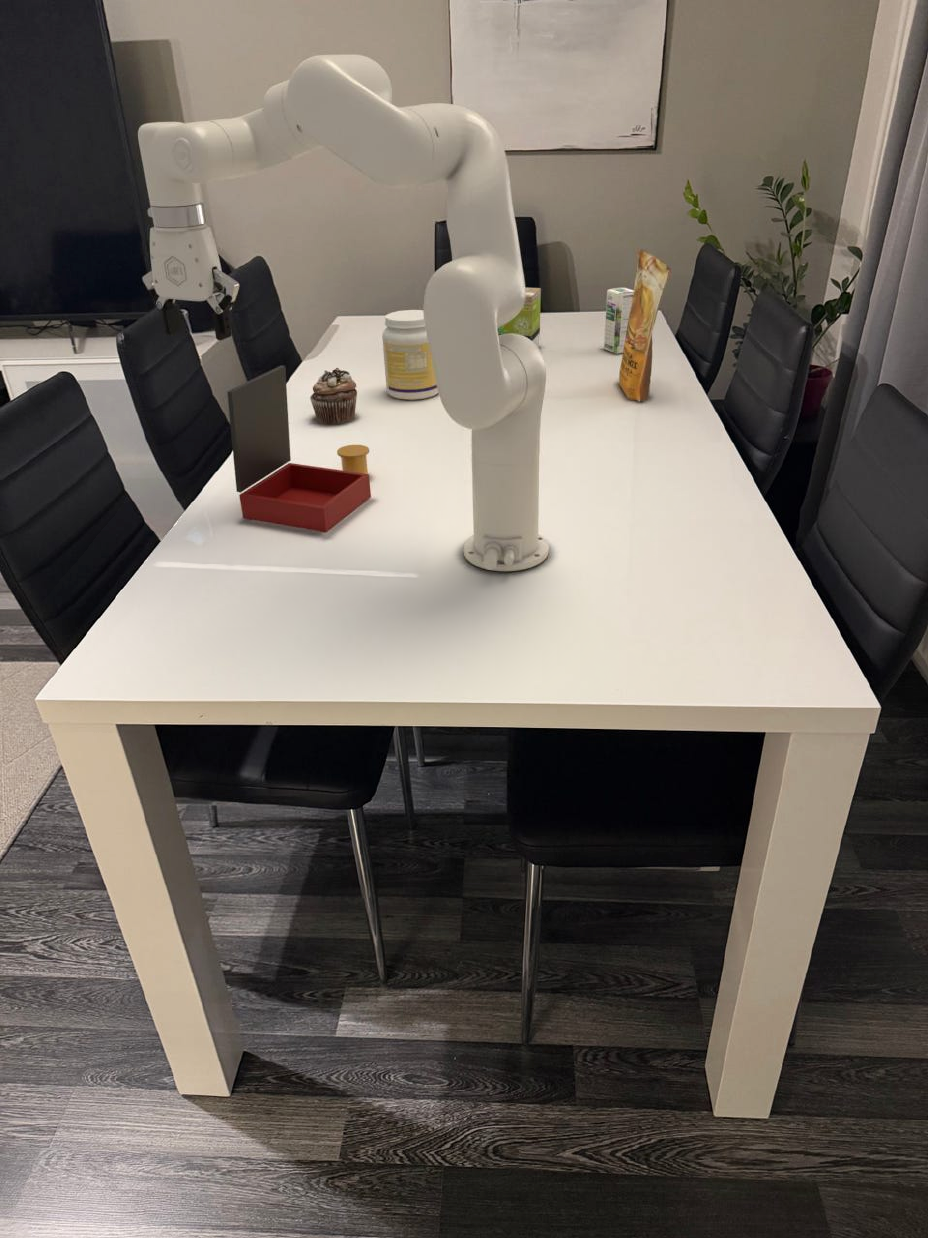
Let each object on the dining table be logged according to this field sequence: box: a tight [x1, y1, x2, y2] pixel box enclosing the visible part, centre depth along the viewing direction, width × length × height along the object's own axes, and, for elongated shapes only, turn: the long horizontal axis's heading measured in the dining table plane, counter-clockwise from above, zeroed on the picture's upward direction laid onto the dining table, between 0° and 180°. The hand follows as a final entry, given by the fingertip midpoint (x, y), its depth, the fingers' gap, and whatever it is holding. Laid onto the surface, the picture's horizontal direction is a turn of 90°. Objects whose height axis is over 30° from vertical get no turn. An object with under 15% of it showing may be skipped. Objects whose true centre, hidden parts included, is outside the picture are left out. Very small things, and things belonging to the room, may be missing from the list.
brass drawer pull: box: [336, 444, 370, 474], centre depth 161 cm, size 6×6×5 cm
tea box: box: [497, 287, 542, 348], centre depth 229 cm, size 15×10×15 cm
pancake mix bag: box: [618, 248, 672, 403], centre depth 194 cm, size 7×19×28 cm, turn 2°
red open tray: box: [238, 462, 372, 533], centre depth 150 cm, size 16×15×5 cm
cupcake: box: [309, 367, 358, 426], centre depth 189 cm, size 10×10×10 cm
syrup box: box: [603, 287, 634, 355], centre depth 226 cm, size 6×6×14 cm
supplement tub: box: [381, 309, 439, 401], centre depth 201 cm, size 12×12×17 cm
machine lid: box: [226, 365, 292, 494], centre depth 147 cm, size 16×15×1 cm
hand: (198, 335), depth 144 cm, fingers open, 9 cm apart
